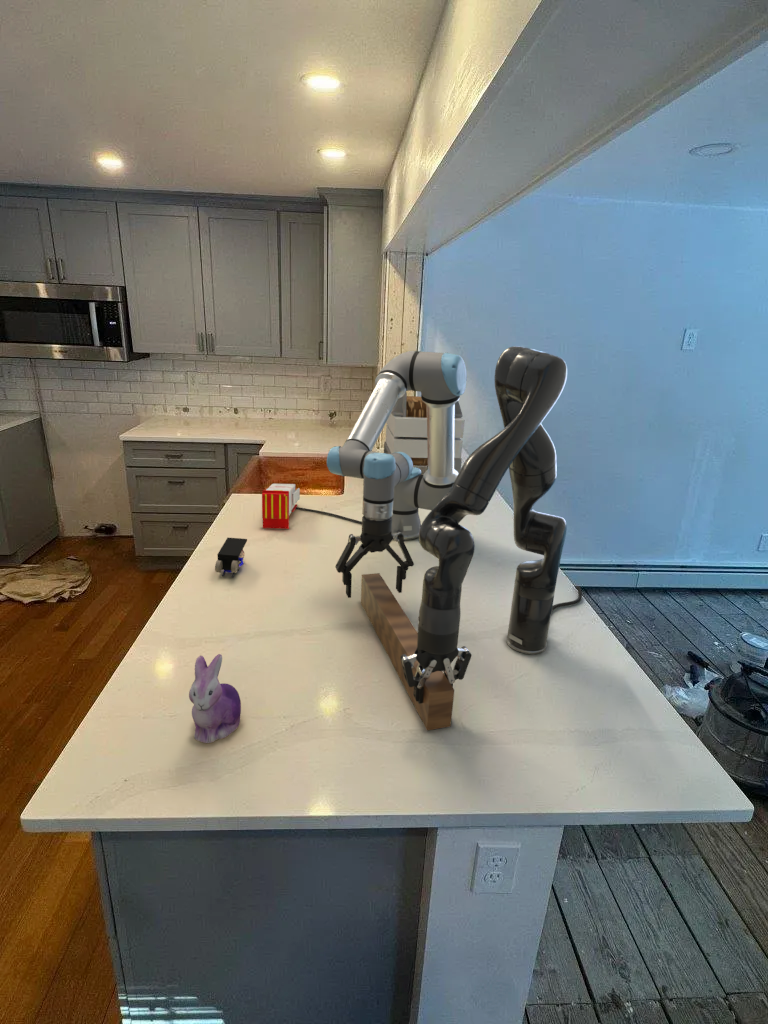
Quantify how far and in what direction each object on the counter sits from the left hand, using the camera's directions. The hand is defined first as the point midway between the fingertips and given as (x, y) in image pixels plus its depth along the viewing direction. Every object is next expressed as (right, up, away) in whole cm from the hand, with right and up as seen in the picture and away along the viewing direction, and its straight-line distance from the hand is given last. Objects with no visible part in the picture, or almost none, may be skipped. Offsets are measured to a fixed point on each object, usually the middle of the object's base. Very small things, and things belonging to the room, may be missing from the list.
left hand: (373, 593), depth 147 cm
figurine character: (-42, +4, +20) cm, 47 cm away
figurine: (-28, -19, -42) cm, 54 cm away
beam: (+6, -12, -17) cm, 22 cm away
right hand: (+12, -15, -37) cm, 42 cm away
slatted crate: (+20, +40, +128) cm, 135 cm away
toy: (-36, +20, +65) cm, 76 cm away
